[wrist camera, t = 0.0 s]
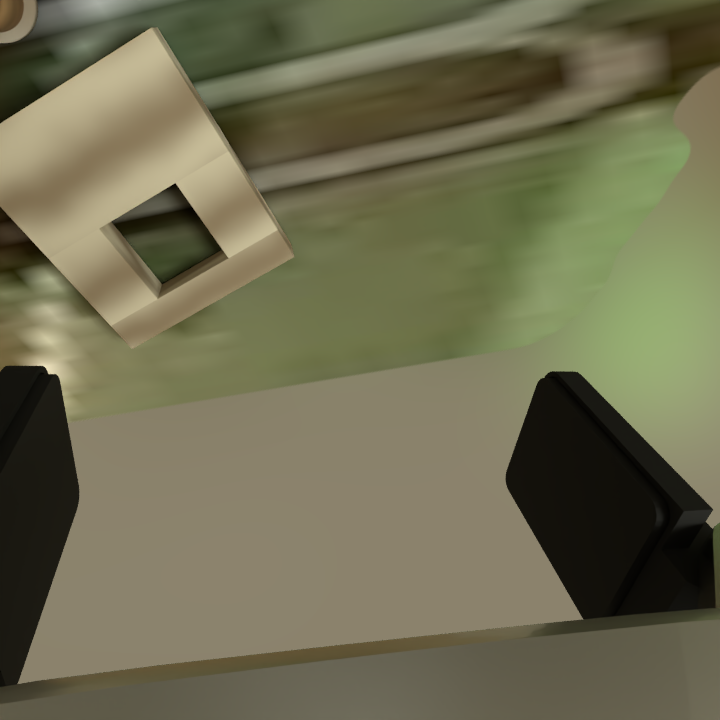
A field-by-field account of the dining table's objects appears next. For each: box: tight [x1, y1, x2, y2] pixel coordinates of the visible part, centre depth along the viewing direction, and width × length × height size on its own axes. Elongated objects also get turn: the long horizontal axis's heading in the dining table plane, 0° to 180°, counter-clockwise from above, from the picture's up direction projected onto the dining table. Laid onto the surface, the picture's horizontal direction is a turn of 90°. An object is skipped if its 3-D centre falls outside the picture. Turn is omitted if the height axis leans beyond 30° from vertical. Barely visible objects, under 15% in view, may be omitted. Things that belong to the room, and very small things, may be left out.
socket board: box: [0, 28, 294, 349], centre depth 42 cm, size 18×16×3 cm
